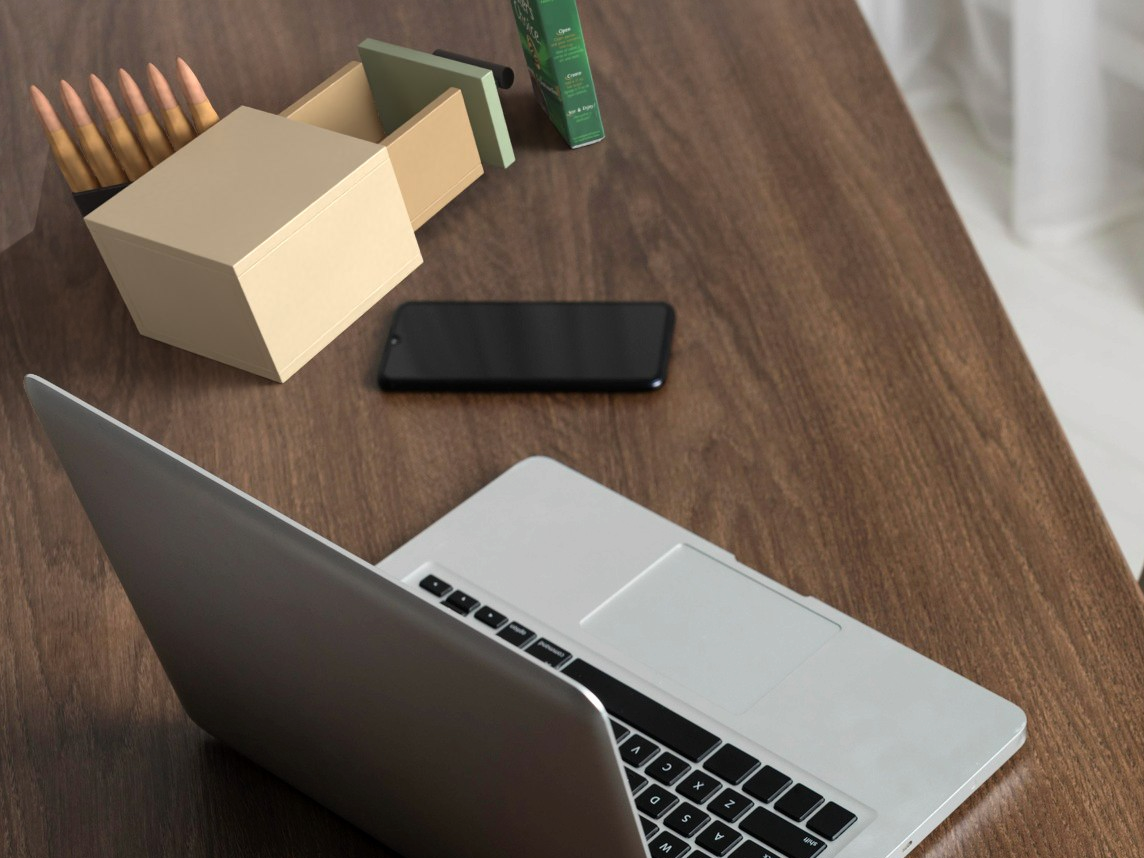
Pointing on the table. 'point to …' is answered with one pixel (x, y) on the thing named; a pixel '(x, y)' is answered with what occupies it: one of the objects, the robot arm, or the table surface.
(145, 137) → the ammunition clip
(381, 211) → the cabinet
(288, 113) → the drawer
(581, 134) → the coffee box
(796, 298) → the table surface
